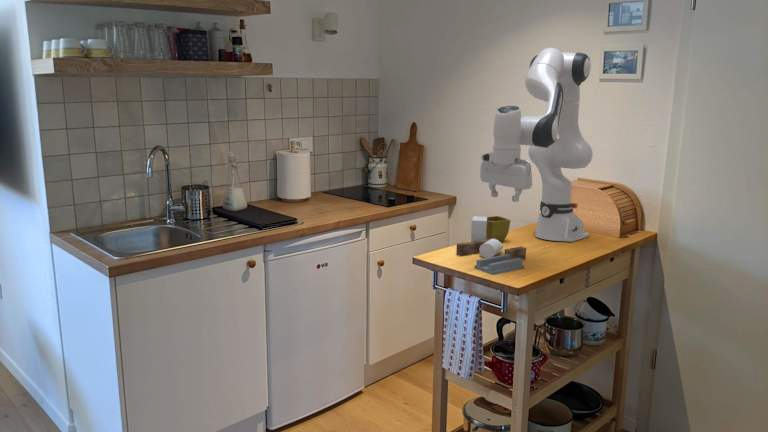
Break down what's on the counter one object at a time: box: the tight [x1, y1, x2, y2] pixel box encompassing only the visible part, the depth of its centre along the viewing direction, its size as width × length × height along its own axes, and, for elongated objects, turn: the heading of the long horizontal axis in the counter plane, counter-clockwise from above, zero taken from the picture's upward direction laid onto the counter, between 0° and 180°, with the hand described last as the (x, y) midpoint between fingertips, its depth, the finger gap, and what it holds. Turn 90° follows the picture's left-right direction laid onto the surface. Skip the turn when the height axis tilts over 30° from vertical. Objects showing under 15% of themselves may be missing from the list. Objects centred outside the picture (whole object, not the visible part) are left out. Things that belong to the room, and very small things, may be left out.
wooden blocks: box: [455, 238, 527, 261], centre depth 216 cm, size 17×17×4 cm
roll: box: [479, 239, 504, 259], centre depth 219 cm, size 6×12×6 cm, turn 150°
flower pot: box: [486, 215, 511, 243], centre depth 238 cm, size 9×9×9 cm
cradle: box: [474, 254, 525, 276], centre depth 202 cm, size 14×8×3 cm, turn 124°
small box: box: [470, 215, 488, 242], centre depth 231 cm, size 8×6×10 cm
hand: (504, 199), depth 202 cm, fingers open, 8 cm apart
